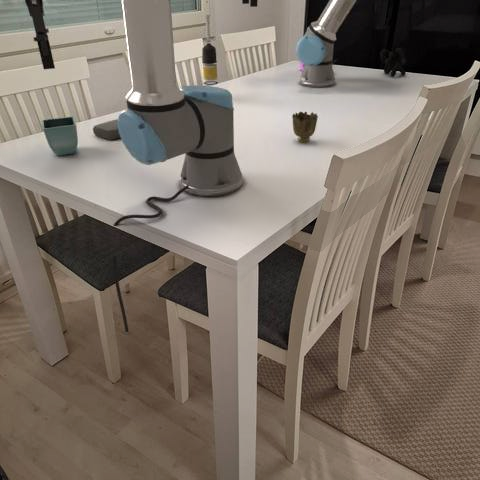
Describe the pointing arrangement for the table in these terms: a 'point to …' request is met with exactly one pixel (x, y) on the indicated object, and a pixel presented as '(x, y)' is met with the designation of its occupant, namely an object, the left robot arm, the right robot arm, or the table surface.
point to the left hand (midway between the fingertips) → (48, 64)
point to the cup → (304, 125)
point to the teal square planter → (61, 135)
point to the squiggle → (393, 62)
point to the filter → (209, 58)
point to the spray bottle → (107, 130)
